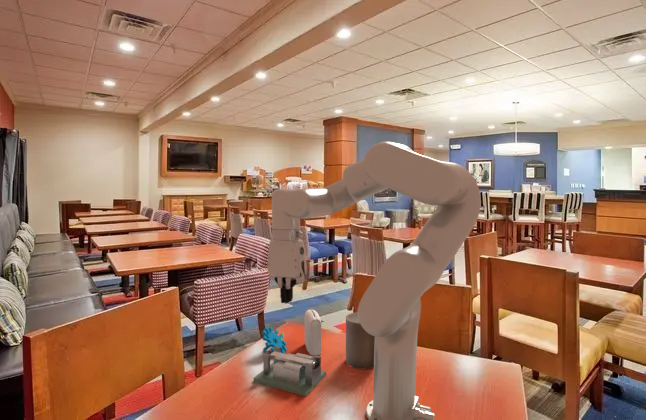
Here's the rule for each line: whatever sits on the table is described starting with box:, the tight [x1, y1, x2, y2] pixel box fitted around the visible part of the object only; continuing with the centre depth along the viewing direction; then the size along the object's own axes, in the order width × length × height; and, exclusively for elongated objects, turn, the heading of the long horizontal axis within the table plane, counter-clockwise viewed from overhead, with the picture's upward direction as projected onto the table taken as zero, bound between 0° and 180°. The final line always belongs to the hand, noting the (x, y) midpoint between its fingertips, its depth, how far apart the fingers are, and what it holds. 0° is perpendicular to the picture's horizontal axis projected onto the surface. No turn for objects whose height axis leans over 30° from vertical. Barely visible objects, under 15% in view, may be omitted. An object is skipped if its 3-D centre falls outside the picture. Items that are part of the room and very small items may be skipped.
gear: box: [261, 326, 288, 354], centre depth 122 cm, size 11×6×10 cm
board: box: [252, 361, 327, 397], centre depth 106 cm, size 16×12×1 cm
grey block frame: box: [262, 346, 322, 386], centre depth 105 cm, size 15×8×6 cm, turn 64°
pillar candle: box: [345, 311, 375, 370], centre depth 115 cm, size 10×10×15 cm
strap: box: [270, 351, 318, 367], centre depth 105 cm, size 14×3×1 cm, turn 64°
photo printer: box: [304, 309, 322, 356], centre depth 124 cm, size 10×4×12 cm, turn 13°
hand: (286, 301), depth 105 cm, fingers closed
